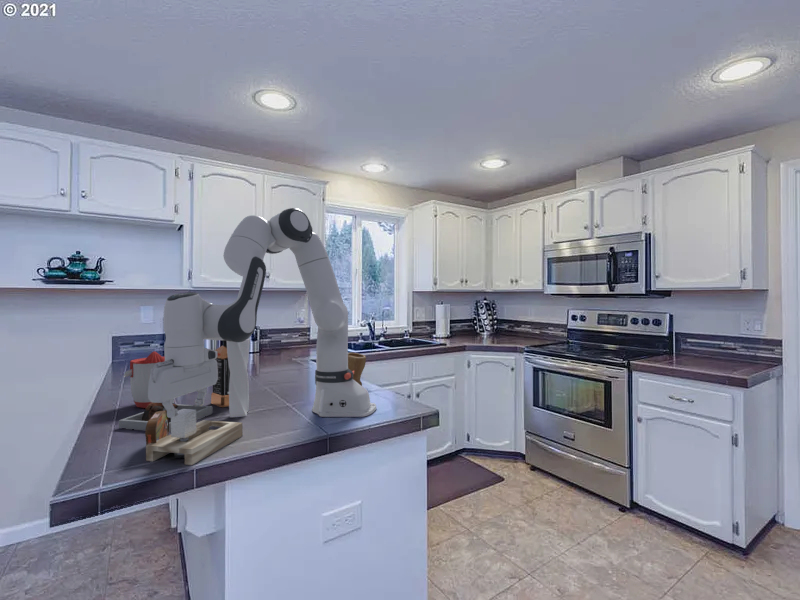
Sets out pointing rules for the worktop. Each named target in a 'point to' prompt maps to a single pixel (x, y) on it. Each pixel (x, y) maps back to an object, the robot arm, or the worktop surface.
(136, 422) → the grey flat square frame
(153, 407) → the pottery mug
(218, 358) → the whiskey bottle
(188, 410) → the peg
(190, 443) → the keyhole plate
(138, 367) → the citrus juicer
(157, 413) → the tin
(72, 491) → the worktop surface
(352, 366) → the tan flared vase
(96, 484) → the worktop surface
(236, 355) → the skyscraper
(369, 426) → the worktop surface
